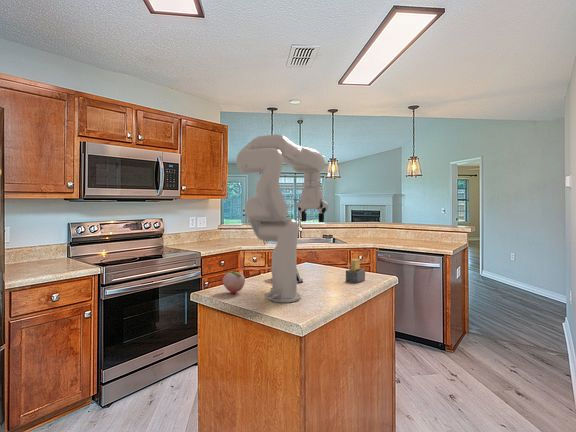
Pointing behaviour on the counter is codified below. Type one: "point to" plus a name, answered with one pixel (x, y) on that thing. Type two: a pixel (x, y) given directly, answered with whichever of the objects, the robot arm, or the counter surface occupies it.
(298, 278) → the hinge
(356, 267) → the tan rectangular block
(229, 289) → the decorative fruit
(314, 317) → the counter surface
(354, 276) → the dark grey open box
